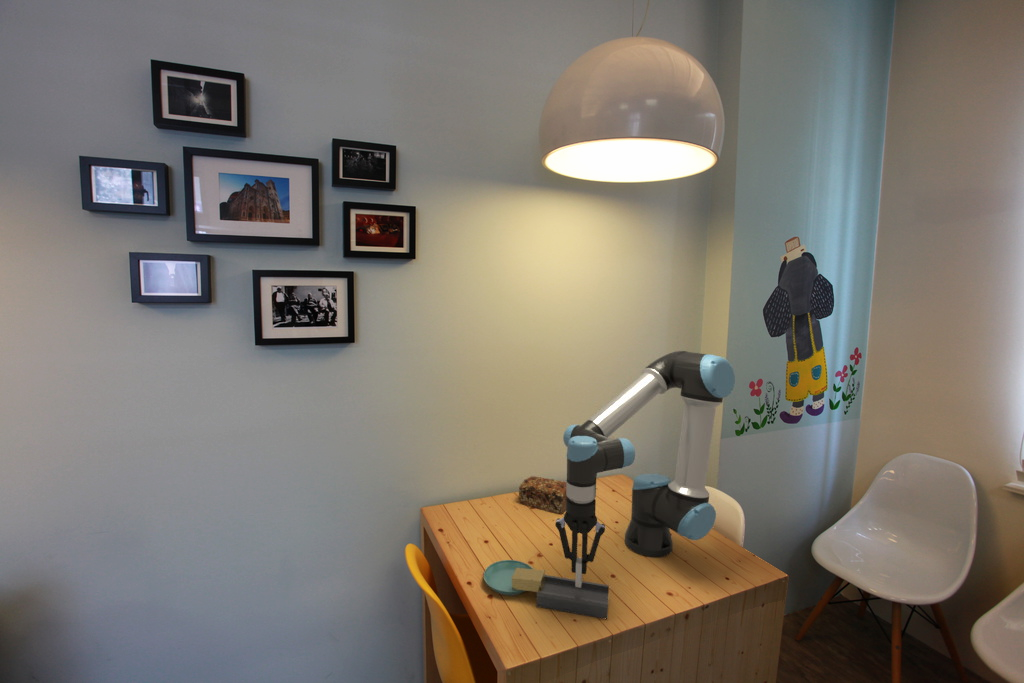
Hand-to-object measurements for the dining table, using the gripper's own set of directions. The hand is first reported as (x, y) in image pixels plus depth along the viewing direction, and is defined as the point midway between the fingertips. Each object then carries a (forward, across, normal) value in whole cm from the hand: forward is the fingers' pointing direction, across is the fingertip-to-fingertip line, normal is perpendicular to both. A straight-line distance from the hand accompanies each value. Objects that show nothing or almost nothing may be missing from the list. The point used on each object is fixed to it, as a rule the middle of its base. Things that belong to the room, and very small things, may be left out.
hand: (578, 584), depth 120 cm
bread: (+6, +18, -55) cm, 59 cm away
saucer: (+6, +19, -4) cm, 21 cm away
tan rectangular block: (+2, +13, 0) cm, 13 cm away
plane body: (+5, +1, 0) cm, 5 cm away
